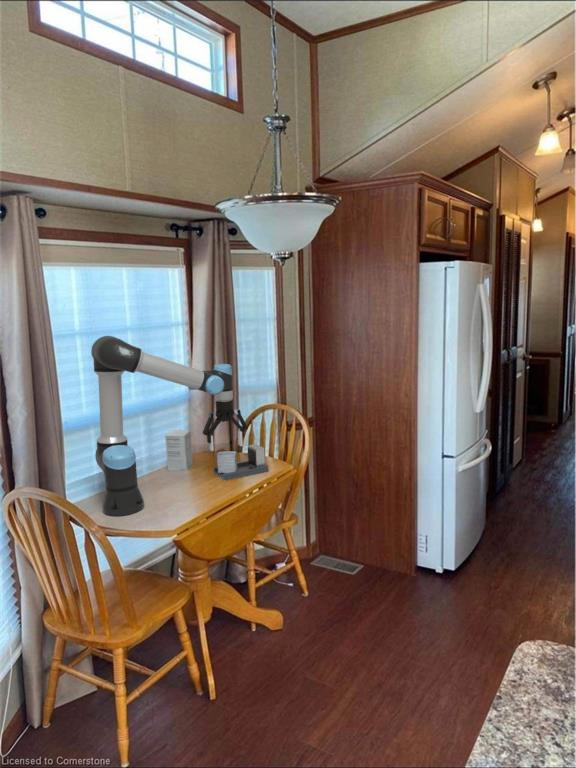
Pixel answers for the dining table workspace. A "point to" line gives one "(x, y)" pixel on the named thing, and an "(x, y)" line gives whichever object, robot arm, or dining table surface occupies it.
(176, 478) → the dining table surface
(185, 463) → the supplement box
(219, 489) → the dining table surface
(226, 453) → the medicine box
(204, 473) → the dining table surface
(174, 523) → the dining table surface
